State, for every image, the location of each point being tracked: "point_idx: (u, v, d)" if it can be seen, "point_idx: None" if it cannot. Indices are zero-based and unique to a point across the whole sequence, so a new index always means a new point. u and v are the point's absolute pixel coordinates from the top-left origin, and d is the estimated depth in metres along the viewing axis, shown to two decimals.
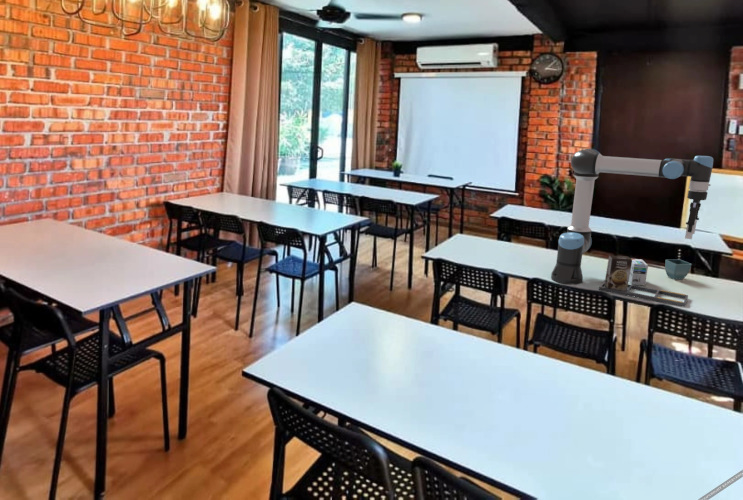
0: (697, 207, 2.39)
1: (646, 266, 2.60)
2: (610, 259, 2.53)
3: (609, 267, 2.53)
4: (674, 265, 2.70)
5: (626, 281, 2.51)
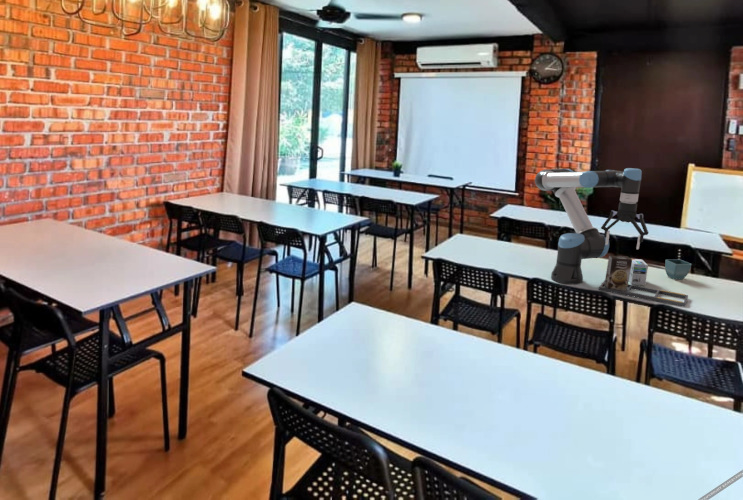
0: (619, 217, 2.48)
1: (646, 266, 2.60)
2: (610, 259, 2.53)
3: (609, 267, 2.53)
4: (674, 265, 2.70)
5: (626, 281, 2.51)
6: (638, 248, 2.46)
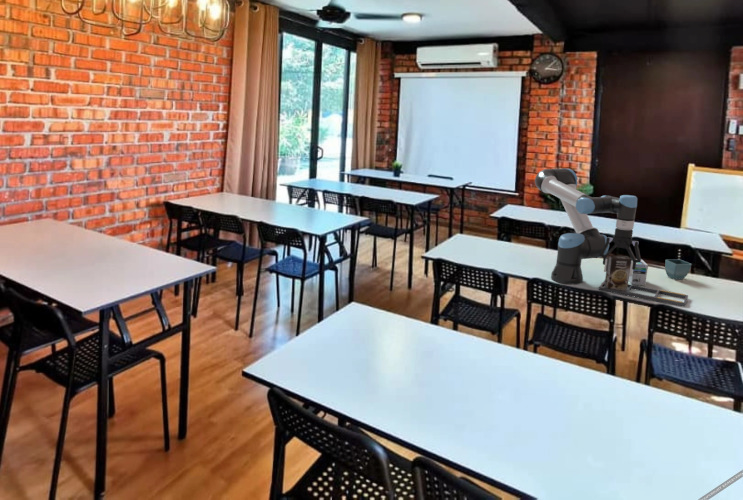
0: (615, 243, 2.51)
1: (646, 266, 2.60)
2: (610, 259, 2.53)
3: (609, 267, 2.53)
4: (674, 265, 2.70)
5: (626, 281, 2.51)
6: None
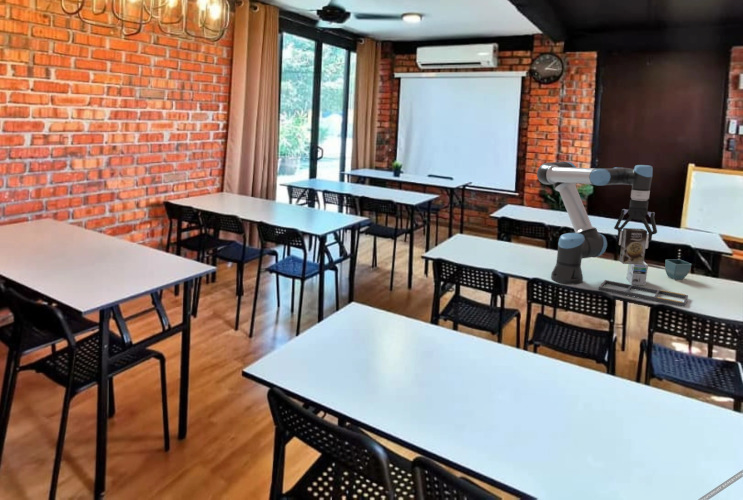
0: (630, 215, 2.45)
1: (646, 266, 2.60)
2: (624, 232, 2.46)
3: (624, 240, 2.47)
4: (674, 265, 2.70)
5: (642, 253, 2.45)
6: (647, 247, 2.44)
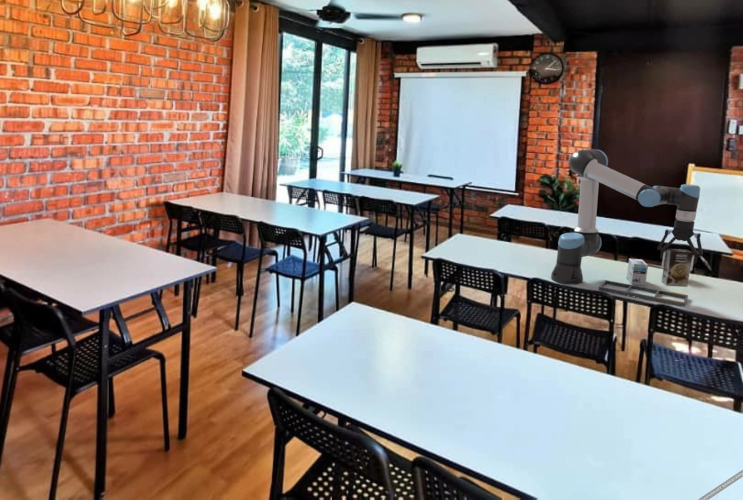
0: (675, 235, 2.36)
1: (646, 266, 2.60)
2: (668, 253, 2.38)
3: (667, 261, 2.38)
4: None
5: (686, 275, 2.36)
6: (691, 269, 2.35)
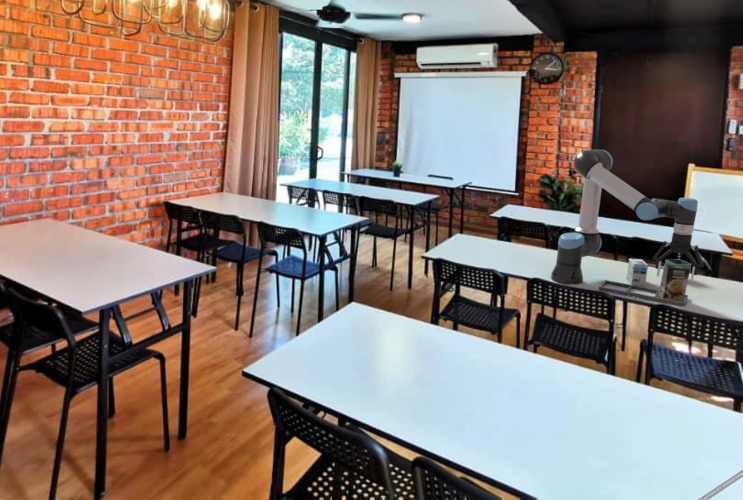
0: (672, 248, 2.38)
1: (646, 266, 2.60)
2: (666, 268, 2.40)
3: (665, 277, 2.40)
4: None
5: (683, 291, 2.38)
6: (692, 281, 2.36)
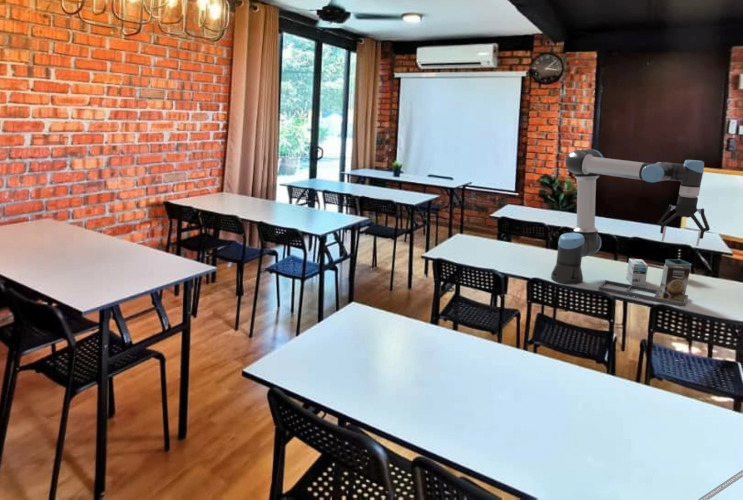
0: (677, 211, 2.34)
1: (646, 266, 2.60)
2: (666, 268, 2.40)
3: (665, 277, 2.40)
4: None
5: (683, 291, 2.38)
6: None
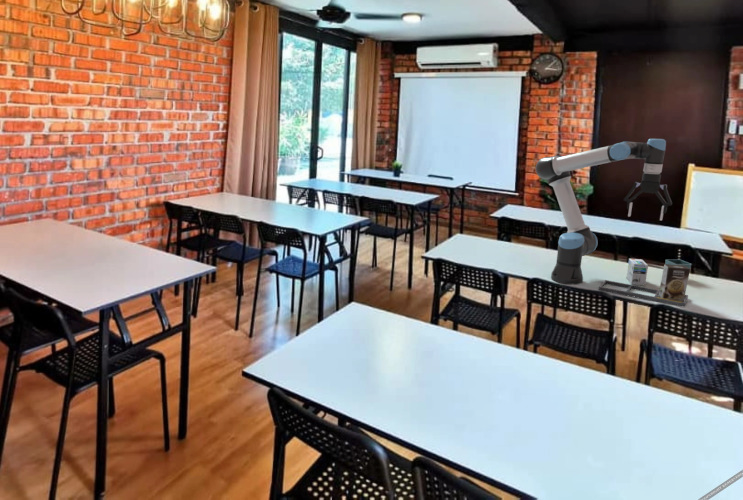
0: None
1: (646, 266, 2.60)
2: (666, 268, 2.40)
3: (665, 277, 2.40)
4: None
5: (683, 291, 2.38)
6: (661, 219, 2.45)
